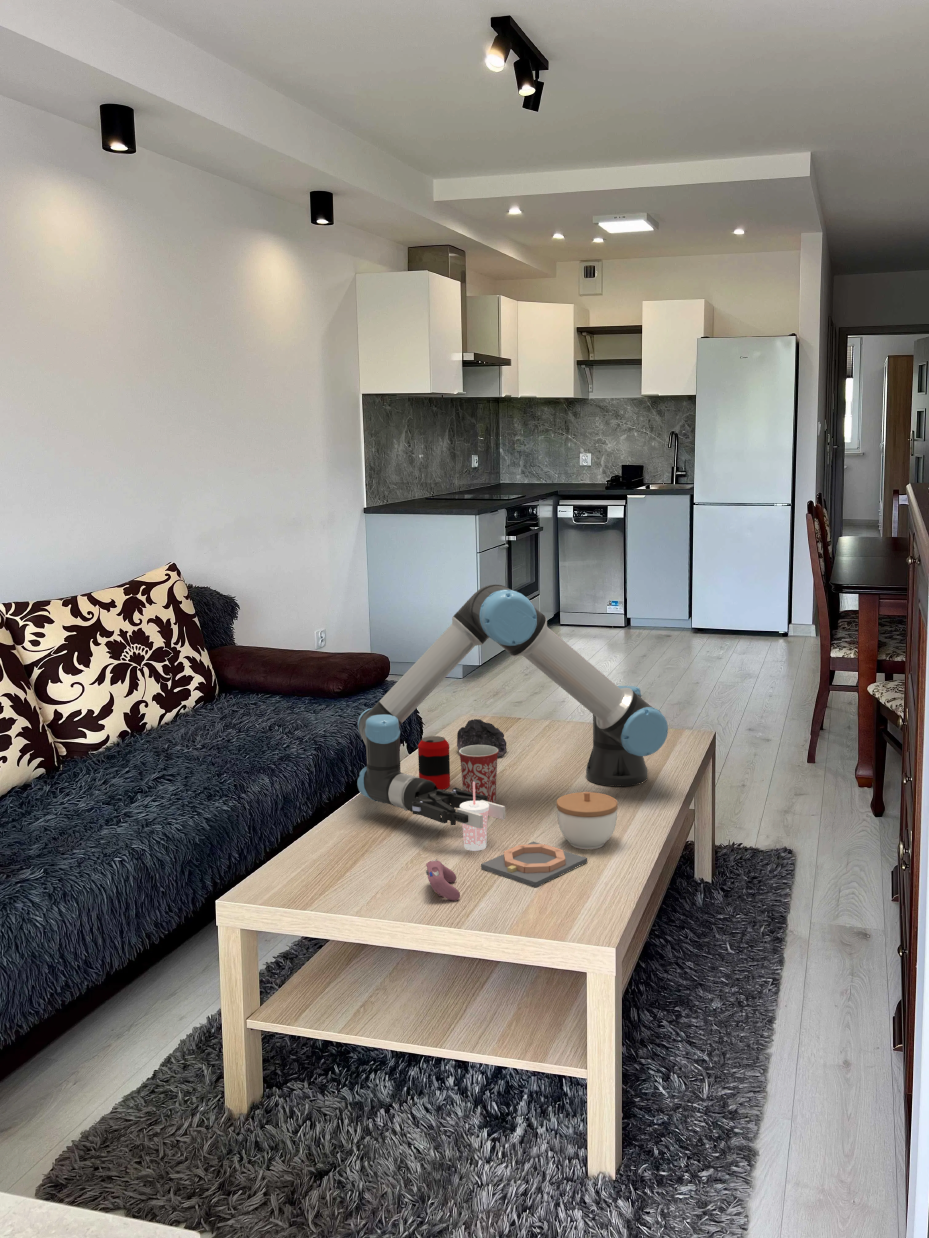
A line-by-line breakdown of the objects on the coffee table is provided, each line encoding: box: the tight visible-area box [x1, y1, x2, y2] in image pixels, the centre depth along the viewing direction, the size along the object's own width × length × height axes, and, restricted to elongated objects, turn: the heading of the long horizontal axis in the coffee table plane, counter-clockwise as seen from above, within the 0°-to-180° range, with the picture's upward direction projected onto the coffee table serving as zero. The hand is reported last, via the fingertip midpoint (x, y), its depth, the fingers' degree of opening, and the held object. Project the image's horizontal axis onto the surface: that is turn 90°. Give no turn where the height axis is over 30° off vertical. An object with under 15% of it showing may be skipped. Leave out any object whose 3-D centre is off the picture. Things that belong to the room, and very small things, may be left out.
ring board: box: [480, 841, 588, 888], centre depth 215 cm, size 16×14×2 cm
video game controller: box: [425, 858, 461, 902], centre depth 203 cm, size 10×5×7 cm, turn 5°
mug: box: [458, 745, 499, 804], centre depth 252 cm, size 13×9×14 cm
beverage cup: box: [460, 782, 489, 852], centre depth 225 cm, size 6×6×14 cm
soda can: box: [417, 735, 451, 791], centre depth 266 cm, size 8×8×12 cm
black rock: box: [456, 718, 508, 758], centre depth 293 cm, size 13×14×10 cm
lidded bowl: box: [556, 791, 619, 850], centre depth 226 cm, size 13×13×11 cm
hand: (492, 817), depth 222 cm, fingers closed on beverage cup, 6 cm apart
